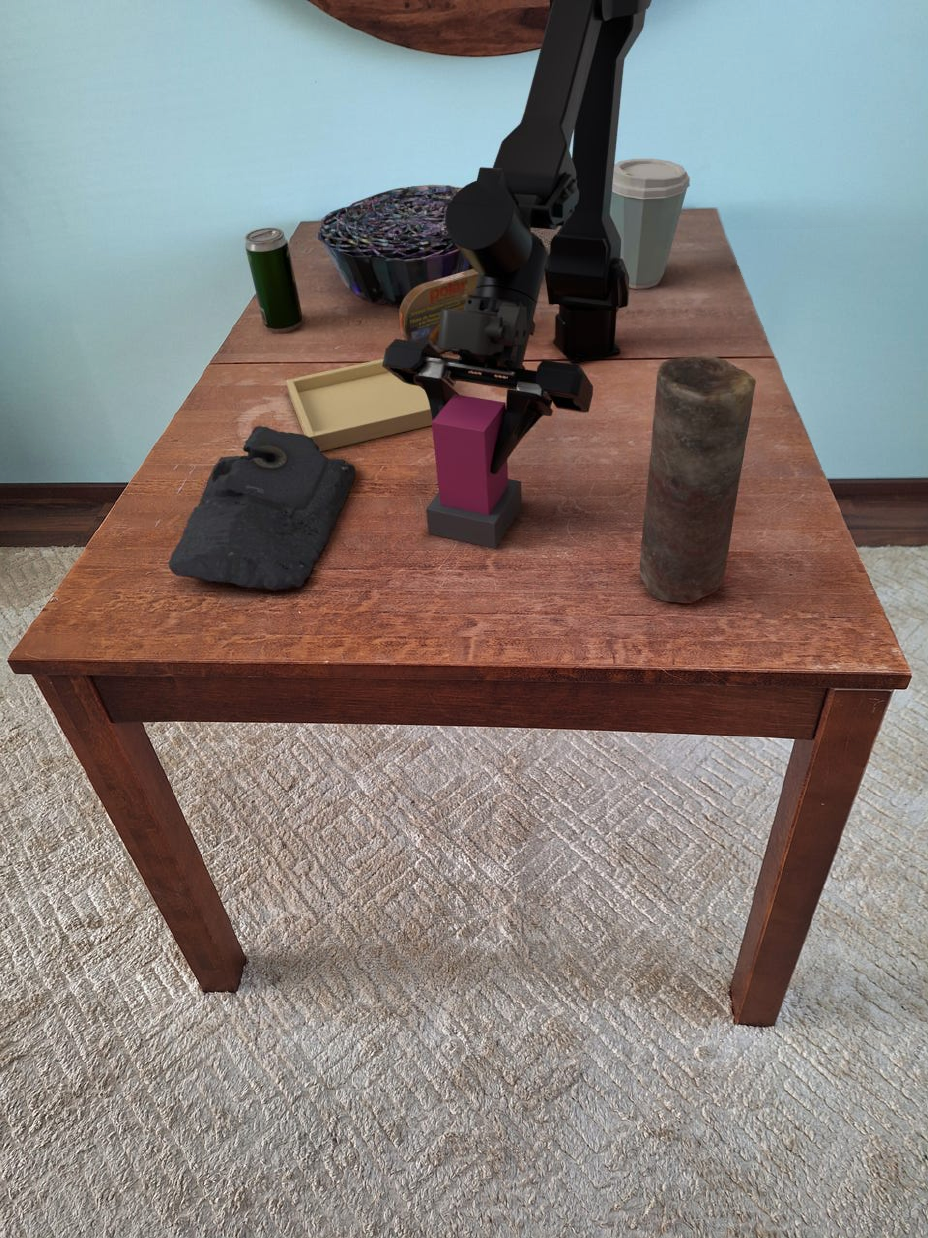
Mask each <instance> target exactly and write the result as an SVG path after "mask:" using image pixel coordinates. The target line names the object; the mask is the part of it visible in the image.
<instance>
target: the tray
mask: <svg viewBox="0 0 928 1238" xmlns="http://www.w3.org/2000/svg"><path fill="white" fill-rule="evenodd" d="M383 359H384V358H380V359H374V360H372V361H366V362H363V363H357V364H353V365H349V366H344V367H340V368H339V367H338V368H334V369H331V370H326V371H320V372H317V373H311V374H308V375H302V376H298V377H294V378H289V379H286V380H285V381H286V382H285V383H286V387H287V391H288V396H289V399H290V401H291V404H292V407H293V409H294V411H295V414H296V417H297V419H298V422H299V424H300V427H301V430H302V432H303V435H305V436H308V437H310V438H311V439H313V441H314V443H315V444H316V445H318V447H319V451H320V452H321V453H322V452H325V451H328V450H334V449H338V448H341V447H346V446H351V445H354V444H358V443H362V442H363V443H364V442H367V441H371V440H376V439H379V438H383V437H384V438H385V437H388V436H392V435H396V434H401V433H405V432H409V431H413V430H417V429H421V428H425V427H430V426H432V414H431V409H430V405H429V400H428V397H427V395H426V392H425V390H423V389H422V388H421V387H420V386H415V385H410V384H407V383H404V382H402V381H401V380H400V379H398V378H397V377H396V376H394V375H393V374H392V373H390V372H389V371H388V370H386V369H385V368H384V367H383V366H382V364H383Z"/></svg>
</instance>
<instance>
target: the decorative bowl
mask: <svg viewBox="0 0 928 1238" xmlns="http://www.w3.org/2000/svg"><path fill="white" fill-rule="evenodd" d="M462 188H463V187H460V186H459V187H458V186H454V185H451V184H450V185H449V184H448V185H447V184H446V185H445V184H423V185H413V186H405V187H398V188H393V189H389V190H386V191H382V192H379V193H376V194H374V195H370V196H368V197H365V198H363V199H360V200H357V201H355V202H352V203H351V204H350V205H349V206H345V207H341V208H337V209H335V210H332V211H330V212H329V213H328V214H326V215H325V216H324V217H322V218H321V219H320V228H318V229H319V230H318V231H317V239H318V241H320V242H321V243H322V245H323V247H324V248H325V250H326V252H327V254H328V256H329V258H330V259H331V261H332V263H333V265H334V267H335V269H336V271H337V273H338V274H339V277H340V278H341V280H342V282H343V284H344V285H345V286H346V287H347V289H348V290H349V291H350V292H353V293H354V295H355V296H357V297H360V298H364V299H366V301H367V302H369V303H372V304H377V305H385V304H388V305H389V306H392V307H398V308H400V306H401V304H402V302H403V300H404V298H405V297H406V295H407V294H408V293H409V292H410V291H411V290H412V289H413V288H415V287H416V286H418V285H421V284H423V283H427V282H430V281H434V280H437V279H441V278H444V277H447V276H451V275H454V274H457V273H461V272H464V271H467V270H471V269H473V267H472V266H471V265H470V263H469V262H468V261H467V259H466V258H465V257H464V255H463V254H462V253H461V251H460V250H459V248H458V247H457V246H456V244H455V243H454V242H453V240H452V239H451V238H450V236H449V234H448V232H447V230H446V224H445V214H446V209H447V206H448V204H449V203H451V201H452V199H453V197H454V196H455V195H456V194H457V193H458V191H459V190H461V189H462Z"/></svg>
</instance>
